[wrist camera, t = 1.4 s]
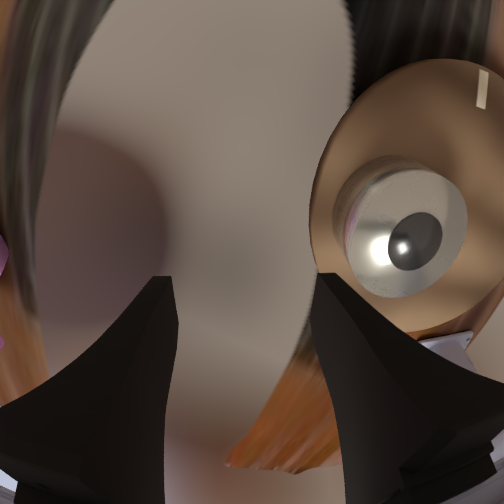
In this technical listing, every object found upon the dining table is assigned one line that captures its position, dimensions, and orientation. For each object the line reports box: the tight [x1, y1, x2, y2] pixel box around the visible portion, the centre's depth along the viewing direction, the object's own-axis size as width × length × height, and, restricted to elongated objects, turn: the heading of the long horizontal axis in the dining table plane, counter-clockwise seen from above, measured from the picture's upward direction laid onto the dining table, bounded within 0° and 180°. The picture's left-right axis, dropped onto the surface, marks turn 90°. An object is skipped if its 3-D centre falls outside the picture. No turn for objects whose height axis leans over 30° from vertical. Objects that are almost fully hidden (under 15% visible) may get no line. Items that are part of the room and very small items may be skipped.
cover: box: [332, 155, 468, 298], centre depth 15 cm, size 7×7×3 cm
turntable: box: [309, 58, 504, 332], centre depth 18 cm, size 20×20×1 cm
